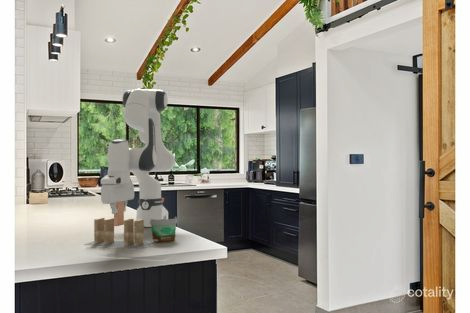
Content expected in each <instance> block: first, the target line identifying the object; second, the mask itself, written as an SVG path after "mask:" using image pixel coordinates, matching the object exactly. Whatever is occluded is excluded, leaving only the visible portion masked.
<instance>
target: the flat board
mask: <svg viewBox="0 0 470 313" xmlns="http://www.w3.org/2000/svg"><path fill="white" fill-rule="evenodd" d="M152 244H154V242H145V241H144V244H142V245H140V246H134V243H133V244H131V245H128V246H124V240H114V242H113V243H111V244H108V245H106V244H104V242H102V243H99V244H94V241H90V242H88V243H85V244H83V245H84V246H97V247H113V248H117V247H118V248H130V249H131V248H132V249H144V248H147V247H148V246H150V245H152Z"/></svg>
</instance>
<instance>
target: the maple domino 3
mask: <svg viewBox="0 0 470 313" xmlns="http://www.w3.org/2000/svg"><path fill="white" fill-rule="evenodd" d="M134 221H135V220H134V218H128V219H124V225H123V241H124V246H128V245H131V244H133V243H134Z"/></svg>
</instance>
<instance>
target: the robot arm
mask: <svg viewBox="0 0 470 313" xmlns="http://www.w3.org/2000/svg"><path fill="white" fill-rule="evenodd" d="M168 100H169V99H168V96H167V93H166V92H165V91H164V90H163V89H150V88H143V89H141V88H137V89H136V88H135V89H128V90H126V91H125V92H123V95H122V105H123V107H124V109H123V120H124V122H125V123H126V124H127V126H129V128H131V129H133V130H137V131H138V137H139V141H141V143H143V144H144V146H143V147H130V144H129V140H128V139H121V138H119V139H112V140H110V141H109V143H108V148H107V164H108V169H107V174H106V175H104V177H102V178H101V179H100V185H101V187H100V200H101V203H102V204H103V205H104V204H105V205H108V204H109V206H110V209H111V214H112V215H114V214H117V213H118V212H117V211H118V209H116V202H121V201H124V213H125V212H126V211H127V208H126V207H127V205H128V201H131V200H134V198H135V186H134V183H133V180H132V179H131V173H132V174H133V175H134V177H135V178H136V180H137V182H138V188H139V189H138V190H139V198H138V208H136V218H135V221H136V220H139V219H144V228H152V226H151V224H150V221H151V219H154V220H161V219H169V211H168V209H167V208H166V207H165V206H164V205H163V204H164V202H165V197H162V184H161V182H160V181H159V180H158V179H156V178H154V177H151V176H150V173H152V172H155V173H157V172H158V173H159V172H160V173H161V172H167V171H168V172H169V171H171V170H173V168H174V167H175V165H176V158H175V155H174V154H173V153H172V152H171V151H170V150H169V149H168V148H167V147H166V146H165V144H164V142H163V139H162V131H161V130H162V129H161V128H162V126H161V125H162V123H161V121H162V120H161V113H162V112H163V111H164V110H166V108H167V106H168V103H169V101H168Z"/></svg>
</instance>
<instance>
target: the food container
mask: <svg viewBox="0 0 470 313" xmlns="http://www.w3.org/2000/svg"><path fill="white" fill-rule="evenodd" d="M178 223H179V221H178V218H177V216H174V218H168V219H161V220H154V219H151V221H150V224H151V226H152V227H151V233H152V235H151V236H152V243H157V244H158V243H159V244H163V243H164V244H165V243H172V242H174V241H175V240H176V232H177V231H176V229H177V224H178Z"/></svg>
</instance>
